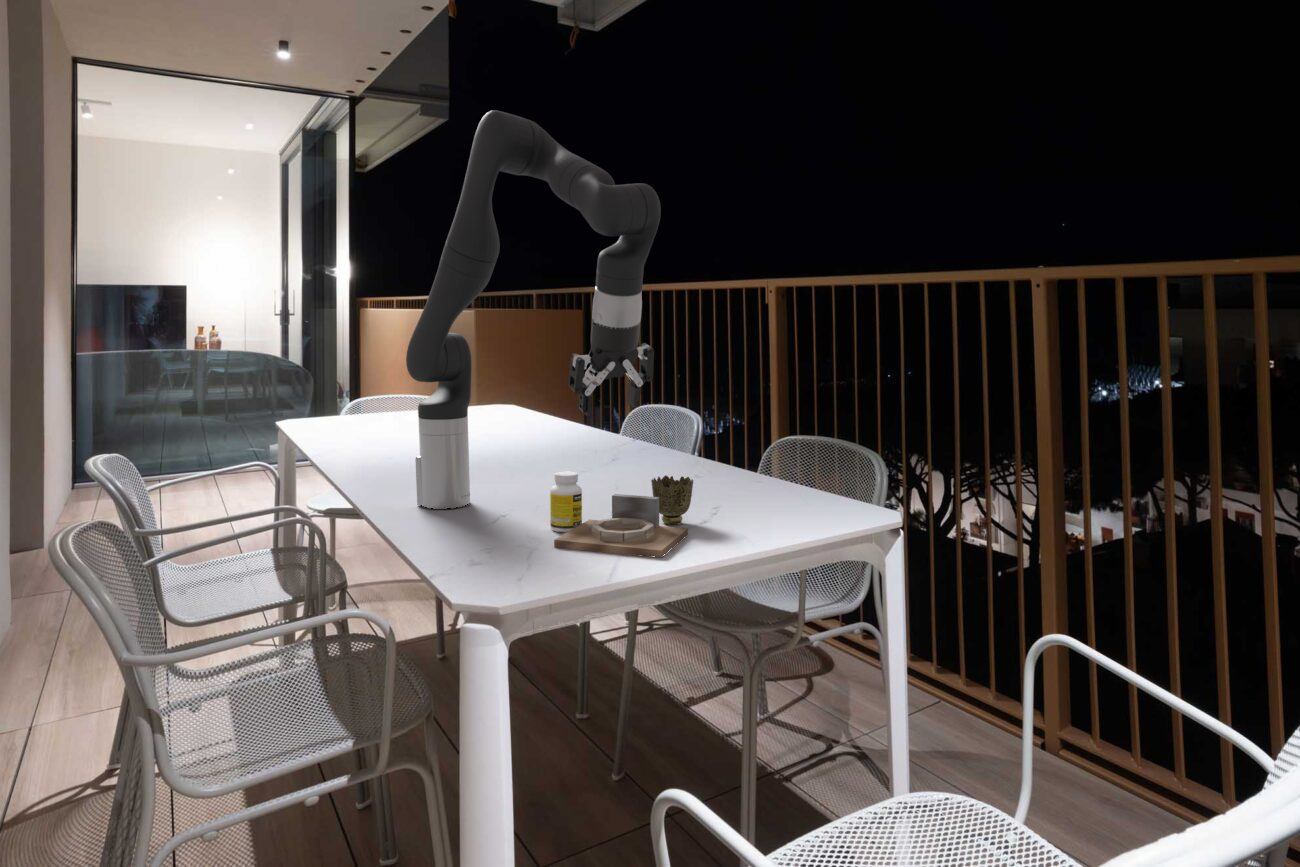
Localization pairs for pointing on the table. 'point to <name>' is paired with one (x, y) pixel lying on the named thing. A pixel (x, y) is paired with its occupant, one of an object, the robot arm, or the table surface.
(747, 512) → the table surface
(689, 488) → the cup
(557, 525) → the supplement bottle
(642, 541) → the socket board
